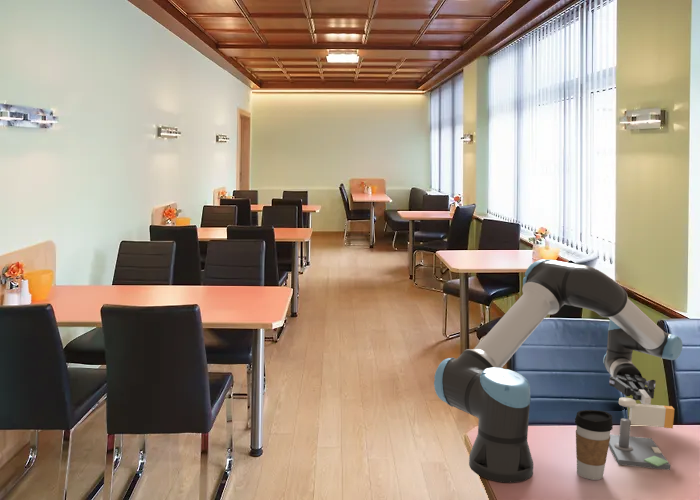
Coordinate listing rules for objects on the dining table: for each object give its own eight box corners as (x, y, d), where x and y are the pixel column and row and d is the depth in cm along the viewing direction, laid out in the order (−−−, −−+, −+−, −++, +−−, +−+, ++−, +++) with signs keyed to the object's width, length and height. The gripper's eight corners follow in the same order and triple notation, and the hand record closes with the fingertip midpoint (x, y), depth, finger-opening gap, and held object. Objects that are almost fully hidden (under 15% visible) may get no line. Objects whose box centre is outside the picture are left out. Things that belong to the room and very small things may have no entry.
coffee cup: (612, 484, 143) (617, 422, 141) (574, 480, 145) (578, 418, 143) (604, 468, 151) (609, 409, 149) (568, 464, 153) (573, 405, 151)
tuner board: (619, 467, 152) (620, 461, 152) (604, 438, 169) (604, 432, 169) (672, 472, 150) (672, 466, 149) (651, 442, 167) (651, 437, 166)
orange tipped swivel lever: (617, 448, 159) (621, 402, 157) (613, 441, 163) (617, 396, 161) (671, 453, 156) (676, 407, 155) (666, 447, 160) (670, 401, 159)
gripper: (647, 388, 187) (672, 418, 164) (602, 384, 190) (620, 413, 167) (649, 364, 186) (675, 391, 163) (604, 361, 189) (622, 387, 166)
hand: (647, 402), depth 165 cm, fingers closed
